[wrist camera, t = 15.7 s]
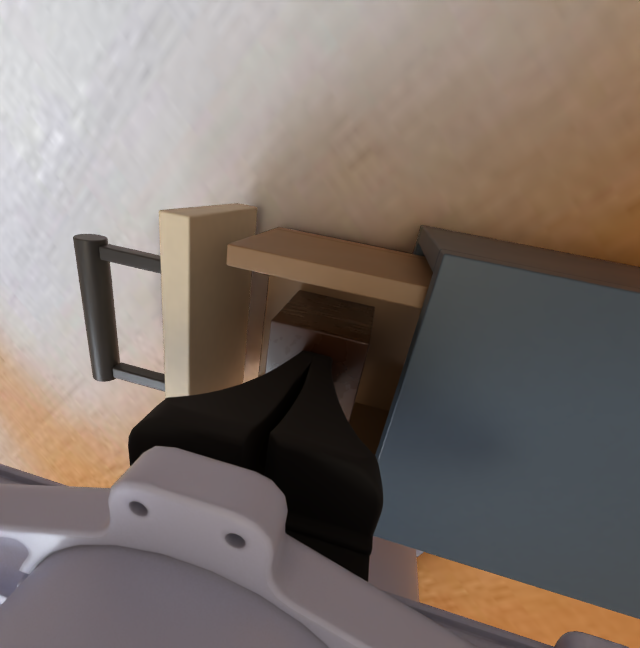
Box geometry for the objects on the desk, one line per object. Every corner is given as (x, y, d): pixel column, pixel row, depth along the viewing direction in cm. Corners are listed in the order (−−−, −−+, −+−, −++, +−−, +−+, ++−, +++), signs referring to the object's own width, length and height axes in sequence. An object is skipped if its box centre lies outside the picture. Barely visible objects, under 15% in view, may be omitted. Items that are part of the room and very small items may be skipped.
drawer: (160, 359, 22) (79, 418, 16) (152, 186, 18) (38, 184, 12) (400, 423, 20) (404, 516, 14) (460, 247, 16) (500, 280, 10)
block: (358, 373, 18) (348, 424, 14) (289, 355, 19) (261, 401, 15) (375, 306, 16) (369, 344, 12) (299, 289, 17) (270, 319, 13)
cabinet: (367, 413, 21) (354, 530, 14) (420, 224, 16) (444, 253, 9) (570, 468, 20) (675, 631, 13) (696, 277, 15) (991, 363, 8)
